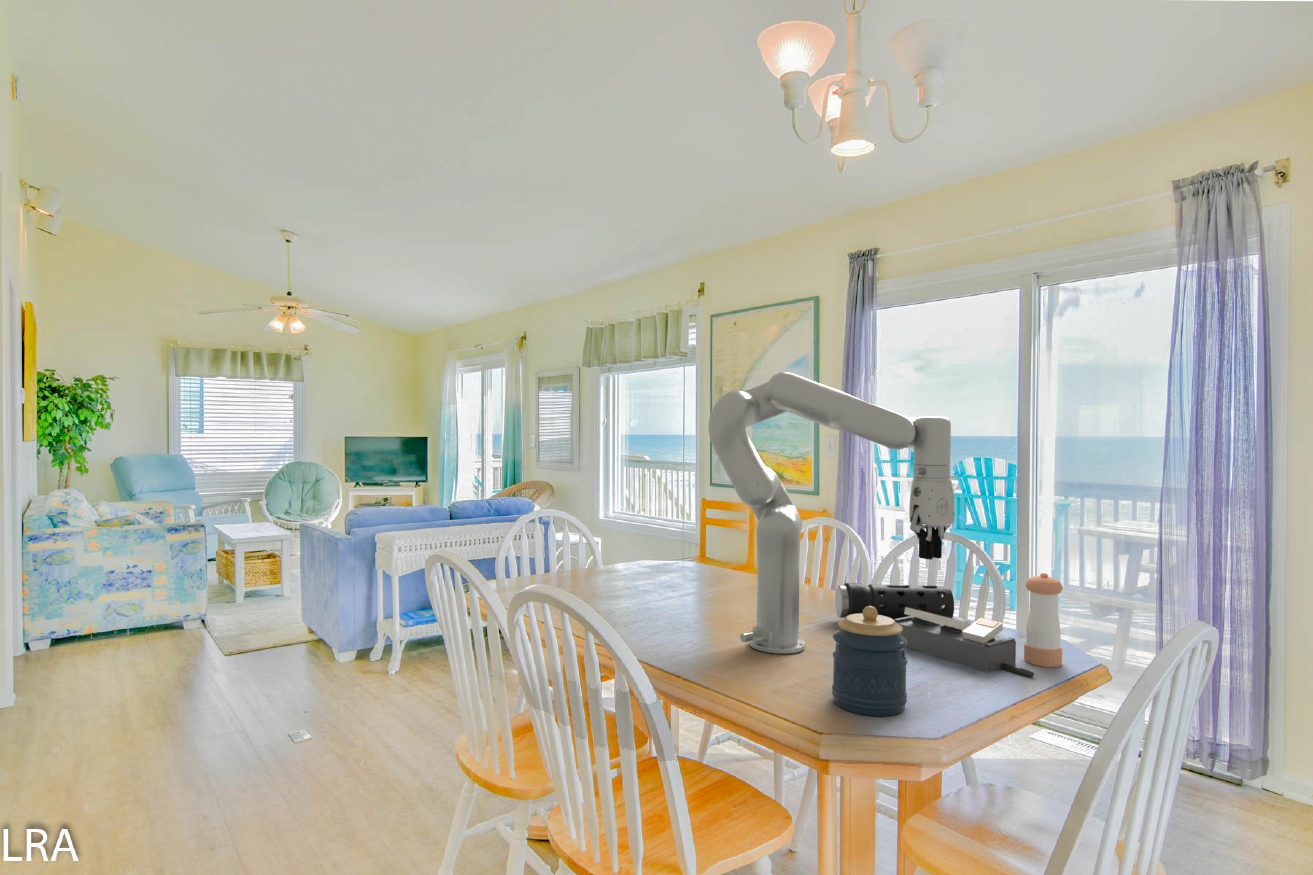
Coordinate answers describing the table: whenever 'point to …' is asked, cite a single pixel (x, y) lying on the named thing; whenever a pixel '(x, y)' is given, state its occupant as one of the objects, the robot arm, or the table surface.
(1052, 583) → the pepper shaker
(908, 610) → the bar
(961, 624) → the rocker
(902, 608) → the muzzle brake
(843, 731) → the table surface
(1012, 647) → the strip
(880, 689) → the canister
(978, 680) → the table surface
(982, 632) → the rocker
